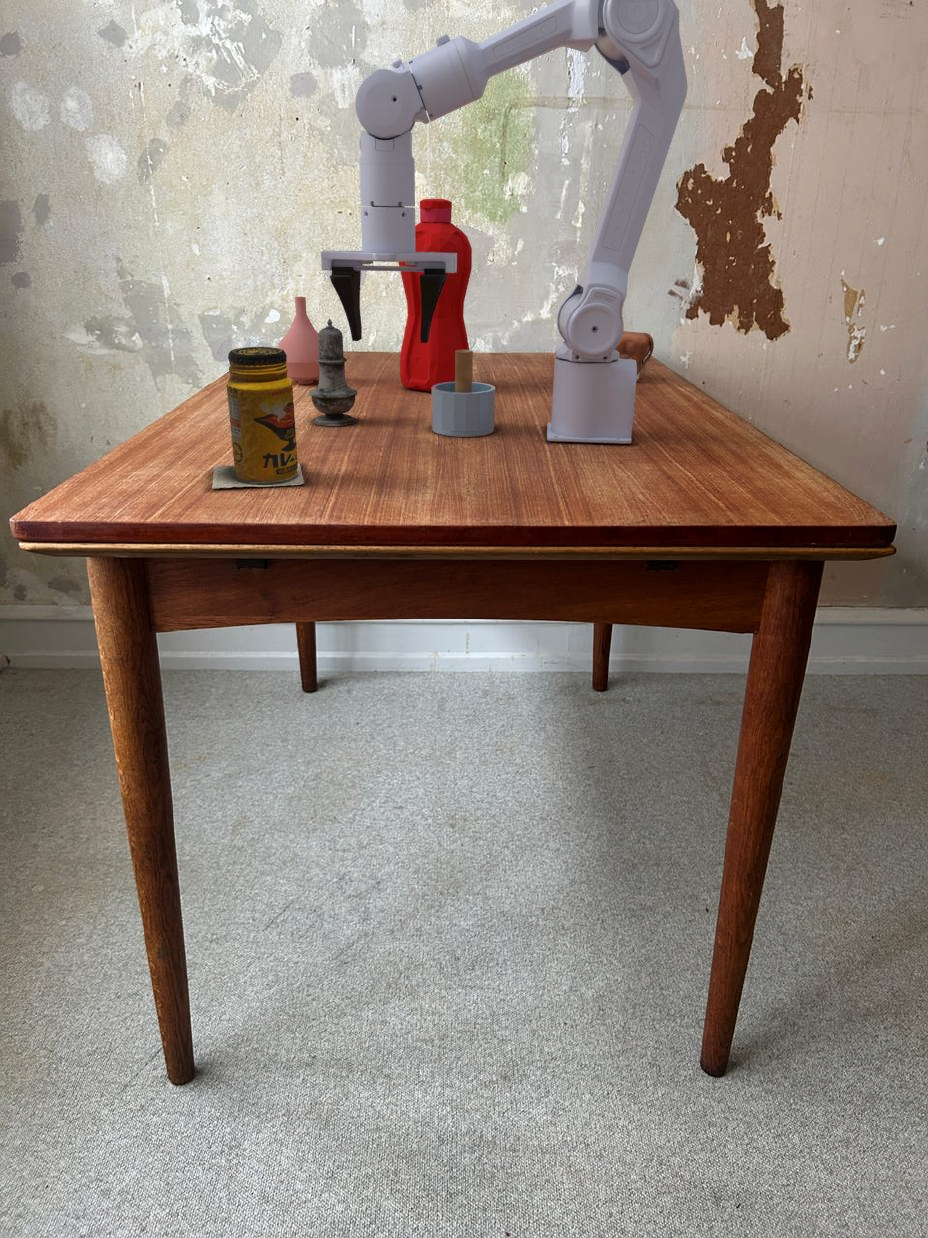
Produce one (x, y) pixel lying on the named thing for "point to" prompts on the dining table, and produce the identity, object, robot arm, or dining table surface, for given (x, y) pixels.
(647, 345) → the bull figurine
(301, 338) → the pink vase
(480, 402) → the beaker
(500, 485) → the dining table surface
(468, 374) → the brush
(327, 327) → the salt shaker
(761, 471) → the dining table surface
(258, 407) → the condiment
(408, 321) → the water bottle
